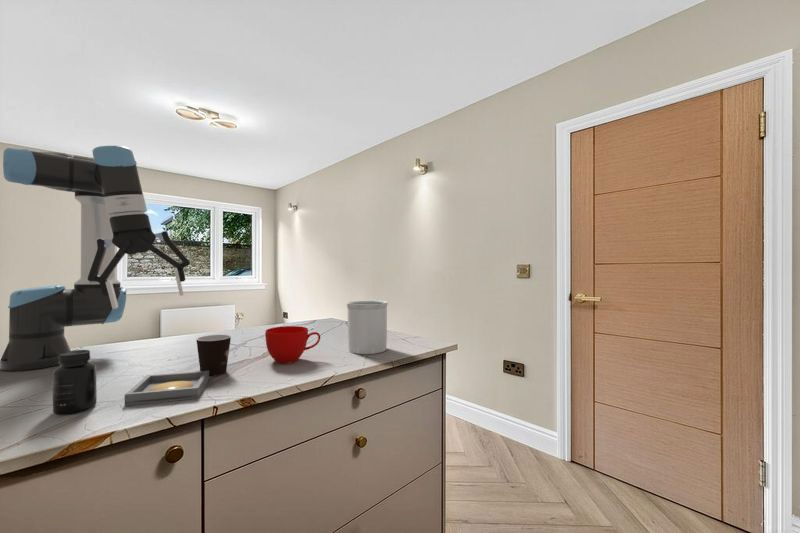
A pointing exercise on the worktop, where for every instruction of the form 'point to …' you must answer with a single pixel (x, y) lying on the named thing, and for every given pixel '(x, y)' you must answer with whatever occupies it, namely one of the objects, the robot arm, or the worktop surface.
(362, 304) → the utensil holder
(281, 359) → the ceramic cup
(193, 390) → the tray
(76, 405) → the supplement bottle
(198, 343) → the coffee mug
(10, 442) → the worktop surface
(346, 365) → the worktop surface
